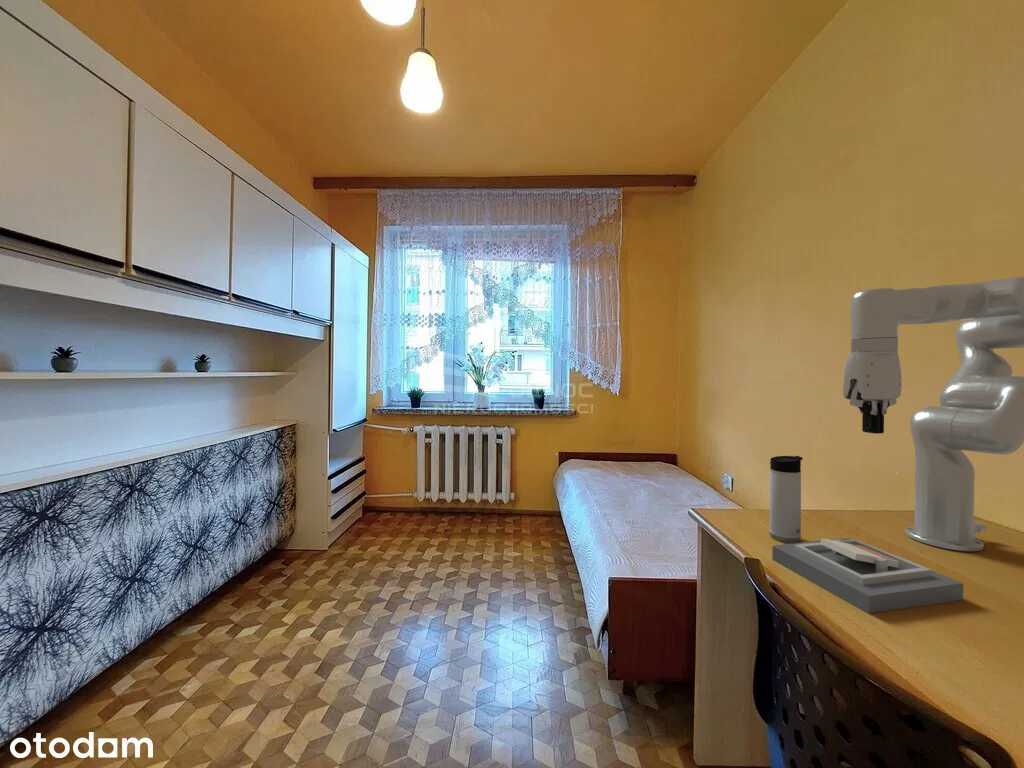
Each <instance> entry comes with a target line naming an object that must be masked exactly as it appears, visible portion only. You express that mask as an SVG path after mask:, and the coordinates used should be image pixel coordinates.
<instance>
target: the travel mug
mask: <svg viewBox="0 0 1024 768" xmlns="http://www.w3.org/2000/svg"><path fill="white" fill-rule="evenodd" d="M769 460H770V461H769V464H770V465H769V536H770V537H771V538H772V537H773V538H772V539H774V540H776V541H780V542H783V543H787V544H794V543H800V541H801V539H802V538H801V537H802V535H801V533H802V531H801V527H802V522H801V521H802V520H801V519H802V516H801V515H802V510H801V509H802V492H801V491H802V470H801V467H802V463H801V462H802V461H803V457H802V456H799V455H778V456H773V457H771V458H770V459H769Z"/></svg>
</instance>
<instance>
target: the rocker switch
mask: <svg viewBox="0 0 1024 768" xmlns="http://www.w3.org/2000/svg"><path fill="white" fill-rule="evenodd" d="M820 541H821V542H820V544H821V545H823V546H825V547H828V548H830V549H832V550H834V551H837V552H839V553H841V554H843V555H845V556H848V557H850V558H852V559H854V560H859V561H864V562H870V563H875V564H876V559H879V558H884V559H887V560H888V566H891V567H897V568H898V564H899V561H897V560H895V559H892V558H890V557H888V556H885V555H883V554H880V553H878V552H875V551H873V550H871V549H868V548H866V547H863V546H859V545H854V544H849V543H843V542H838V541H833V540H832V539H828V538H821V539H820Z"/></svg>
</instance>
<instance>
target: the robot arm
mask: <svg viewBox="0 0 1024 768" xmlns="http://www.w3.org/2000/svg"><path fill="white" fill-rule="evenodd" d="M849 315H850V320H851V321H850V323H851V324H850V326H851V327H850V333H851V334H850V337H851V341H850V354H848V356H847V358H846V363H845V368H844V374H843V387H842V389H843V391H842V393H843V394H842V395H843V397H844V398H845V399H846V400H850V401H849V405H850V406H853V407H857V408H858V409H859V413H860V414H862V417H861V418H862V419H861V420H862V422H861V423H862V426H861V427H862V428H861V431H862V432H863V433H869V434H884V433H885V415H887V413H888V409H889V407H891V406H894V405H897V399H899V398H900V397H901V394H902V370H901V362H900V358H899V346H898V345H899V325H927V324H939V323H948V322H957V321H962V322H960V323H959V325H958V326H957V329H956V332H955V339H956V345H957V349H958V354H959V358H960V365H959V367H958V368H957V370H956V371H955V373H954V374H953V375H952V376H951V378H950V379H949V381H948V382H947V383H946V384H945V386H944V388H943V390H942V391H941V393H940V395H939V399H938V401H939V404H940V406H937V405H936V406H927V407H922V408H919V409H918V410H916V411H915V412H914V413H913V414H912V416H911V417H910V421H909V426H910V433H911V436H912V442H913V445H914V446H913V447H914V456H915V471H914V474H915V475H914V485H915V486H914V525H910V526H907V527H906V528H905V534H906V535H907V536H908V537H909V538H911V539H913V540H915V541H917V542H919V543H923V544H925V545H926V544H927V545H930V546H934V547H936V548H937V547H938V548H942V549H947V550H952V551H958V552H979V551H982V550H984V548H985V547H984V545H985V544H984V542H983V541H982V540H980V539H978V538H976V537H975V534H977V533H980V532H981V533H982V532H986V530H987V528H986V525H984V524H983V523H981V522H975V521H974V519H975V518H974V517H975V516H974V515H975V512H974V511H975V478H976V476H975V473H976V472H975V468H974V465H973V463H972V462H971V460H970V459H969V458H968V456H967V455H966V454H965V453H964V452H963V451H968V452H974V453H976V452H977V453H982V454H983V453H984V454H990V455H991V454H993V455H1010V454H1012V453H1014V452H1016V451H1018V450H1019V449H1020V448H1021V447H1022V445H1023V444H1024V376H1019V375H1016V376H1015V375H1014V376H1013V375H1012V374H1013V368H1012V366H1011V364H1010V363H1009V362H1008V361H1007V360H1006V359H1005V358H1004V357H1002V356H1001V355H999V354H998V353H996V352H995V351H994V350H997V349H1018V348H1019V349H1020V348H1021V349H1023V348H1024V276H1023V275H1022V276H1012V277H1006V278H1005V277H1004V278H1000V279H993V280H987V281H981V282H980V281H978V282H970V283H969V282H968V283H960V284H957V283H955V284H942V285H941V284H940V285H934V286H928V287H927V286H926V287H912V288H903V289H901V288H900V289H894V288H889V287H883V288H881V287H880V288H871V289H870V288H869V289H865V290H861V291H858V292H856V293H854V294H853V295H852V297H851V307H850V310H849ZM974 522H975V523H974Z"/></svg>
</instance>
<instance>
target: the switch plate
mask: <svg viewBox="0 0 1024 768" xmlns="http://www.w3.org/2000/svg"><path fill="white" fill-rule="evenodd" d="M831 540H833V541H838V542H843V543H849V544H854V545H859V546H863V547H866V548H868V549H871V550H873V551H875V552H878V553H880V554H883V555H885V556H888V557H890V558H892V559H895V560H897V561H899V564H898V568H897V567H891V566H888V560H887V559H884V558H879V559H876V564H875V563H870V562H864V561H859V560H854V559H852V558H850V557H848V556H845V555H843V554H841V553H839V552H837V551H834V550H832V549H830V548H828V547H825V546H823V545H821V544H820V542H821V540H814V541H804V542H797V543H787V544H786V543H785V544H778V545H777V544H776V545H772V557H771V558H772V560H773V561H774V560H775V561H774V562H776V561H777V563H778V564H780V565H781V566H783V567H785V568H787V569H789V570H790V571H792V572H794V573H795V574H798V575H800V576H801V577H803V578H805V580H808V581H810V582H811V583H813V584H815V585H817V586H819V587H820V588H823V589H824V590H826V591H828V592H830V593H832V594H833V595H835V596H836V597H839V598H840V599H842V600H844V601H846V602H847V603H848V604H851V605H853V606H855V607H856V608H858V609H860V610H861V611H863V612H865V613H867V614H873V613H874V614H875V613H882V612H888V611H889V612H890V611H896V610H903V609H910V608H917V607H923V606H929V605H936V604H937V605H938V604H939V605H940V604H944V603H951V602H952V603H953V602H960V601H964V583H963V582H961V581H959V580H956V579H954V578H952V577H950V576H946V575H944V574H942V573H940V572H936V571H934V570H932V569H931V568H928V567H925V566H923V565H921V564H918V563H915V562H913V561H911V560H909V559H906V558H904V557H901V556H900V555H899V556H898V555H896V554H893V553H891V552H889V551H887V550H883V549H881V548H878V547H876V546H874V545H871V544H868V543H866V542H863V541H861V540H859V539H856V538H852V537H844V538H843V537H842V538H833V539H831Z"/></svg>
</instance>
